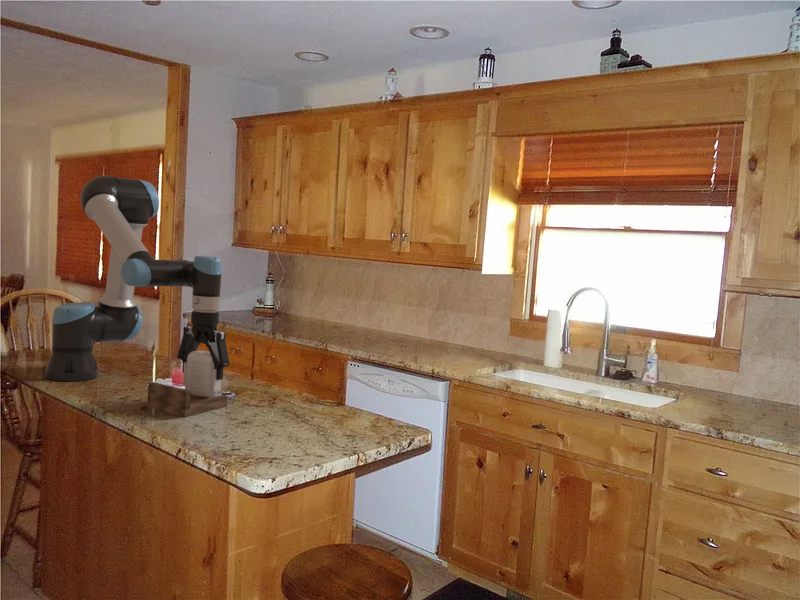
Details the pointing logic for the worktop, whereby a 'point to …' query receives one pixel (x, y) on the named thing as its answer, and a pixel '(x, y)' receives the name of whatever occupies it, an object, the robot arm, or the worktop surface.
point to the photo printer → (200, 373)
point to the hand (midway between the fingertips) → (201, 387)
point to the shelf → (181, 400)
